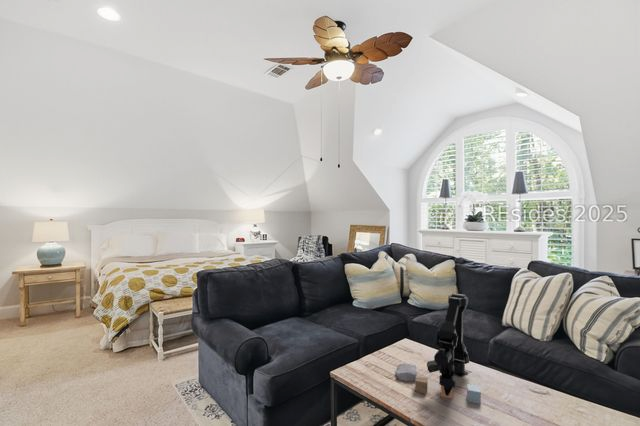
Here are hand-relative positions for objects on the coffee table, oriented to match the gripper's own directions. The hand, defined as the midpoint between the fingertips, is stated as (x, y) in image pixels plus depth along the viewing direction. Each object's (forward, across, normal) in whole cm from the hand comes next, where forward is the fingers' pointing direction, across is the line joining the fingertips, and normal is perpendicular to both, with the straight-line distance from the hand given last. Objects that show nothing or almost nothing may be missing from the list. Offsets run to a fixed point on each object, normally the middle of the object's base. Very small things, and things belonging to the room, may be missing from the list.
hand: (446, 392), depth 146 cm
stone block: (+2, -11, -19) cm, 22 cm away
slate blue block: (+1, 0, +11) cm, 11 cm away
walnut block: (+1, 0, -11) cm, 11 cm away
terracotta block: (+1, 0, 0) cm, 1 cm away
